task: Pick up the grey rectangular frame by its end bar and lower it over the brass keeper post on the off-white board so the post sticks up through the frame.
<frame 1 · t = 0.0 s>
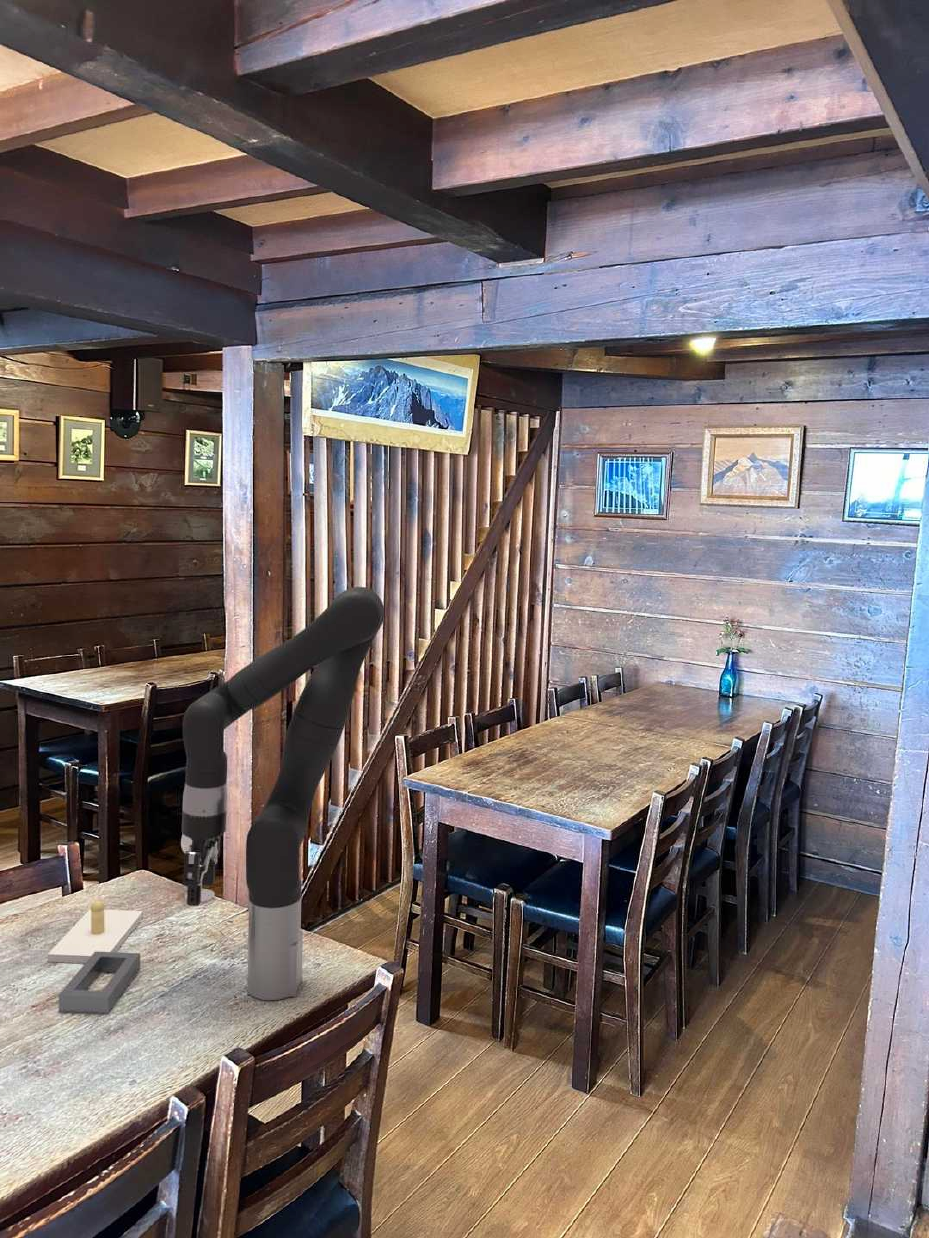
hand: (200, 894, 160), 17 cm above the table, tool pointing down, fingers open, 8 cm apart
wineglass: (200, 896, 198), on the table
grey rectangular frame: (101, 989, 159), on the table
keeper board: (97, 938, 177), on the table
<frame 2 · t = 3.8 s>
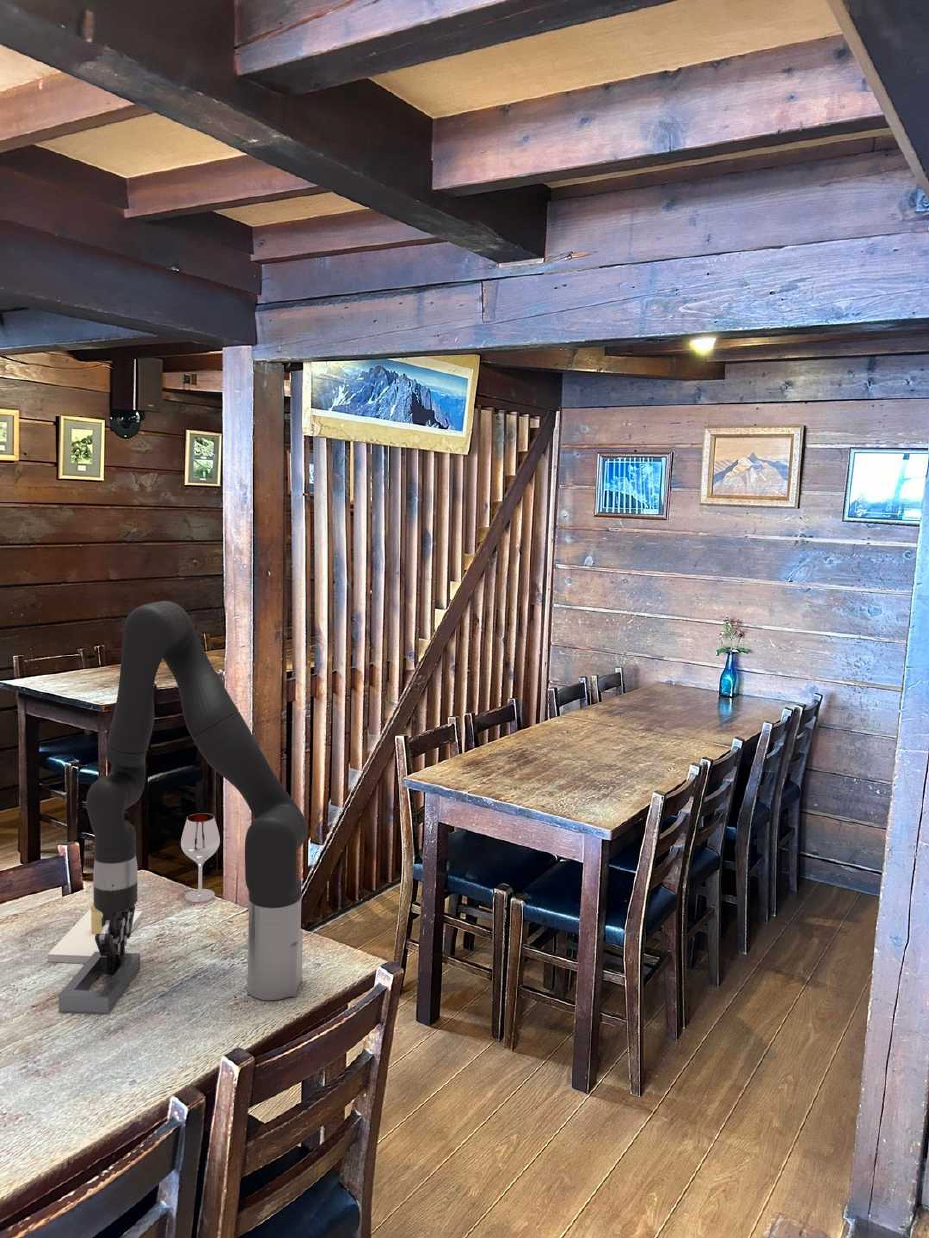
hand: (115, 968, 165), 0 cm above the table, tool pointing down, fingers closed on grey rectangular frame
grey rectangular frame: (101, 989, 159), on the table, touching gripper
everything else where it was.
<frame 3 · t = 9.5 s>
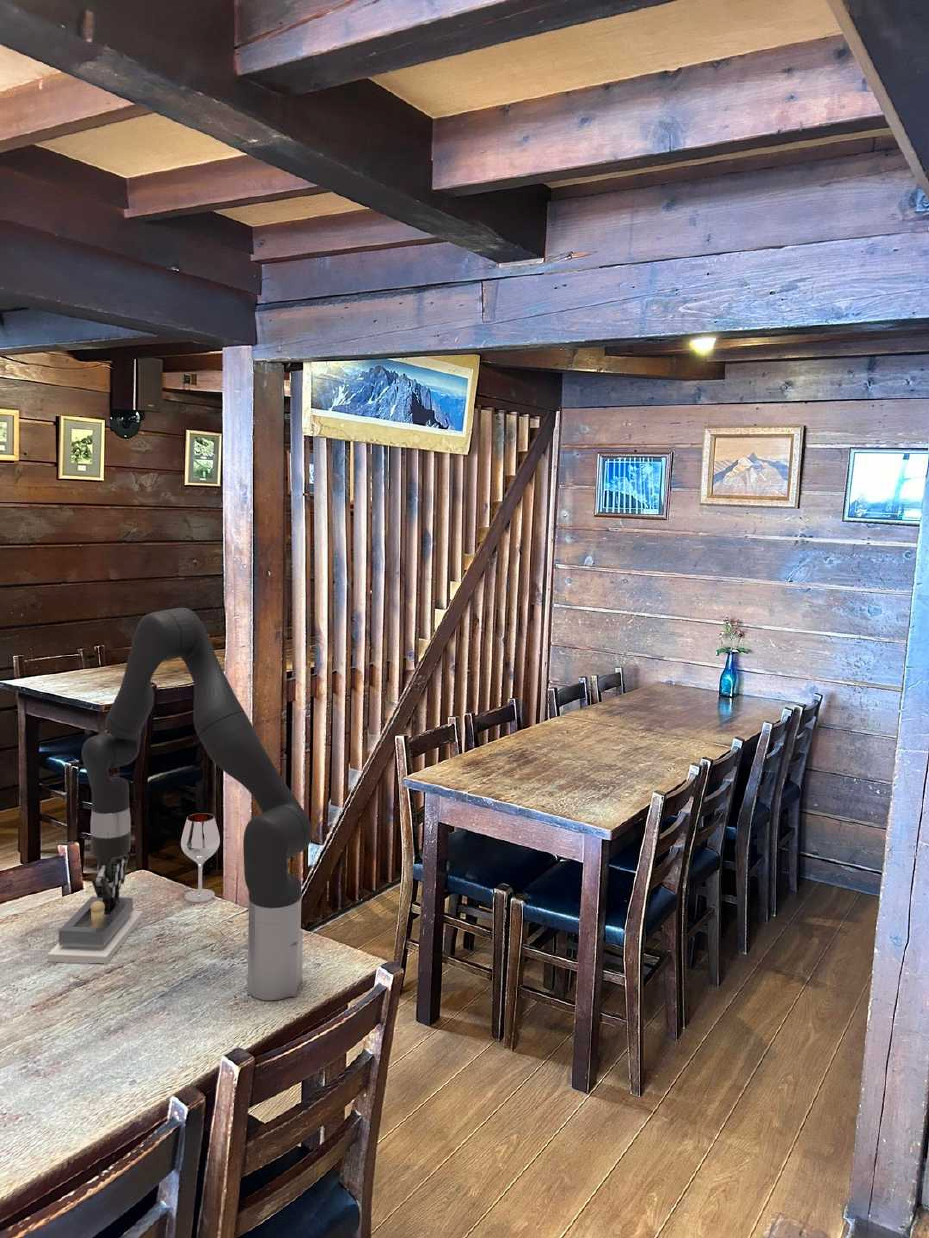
hand: (111, 910, 183), 3 cm above the table, tool pointing down, fingers closed on grey rectangular frame
grey rectangular frame: (97, 927, 176), point 2 cm above the table, touching gripper
everything else where it was.
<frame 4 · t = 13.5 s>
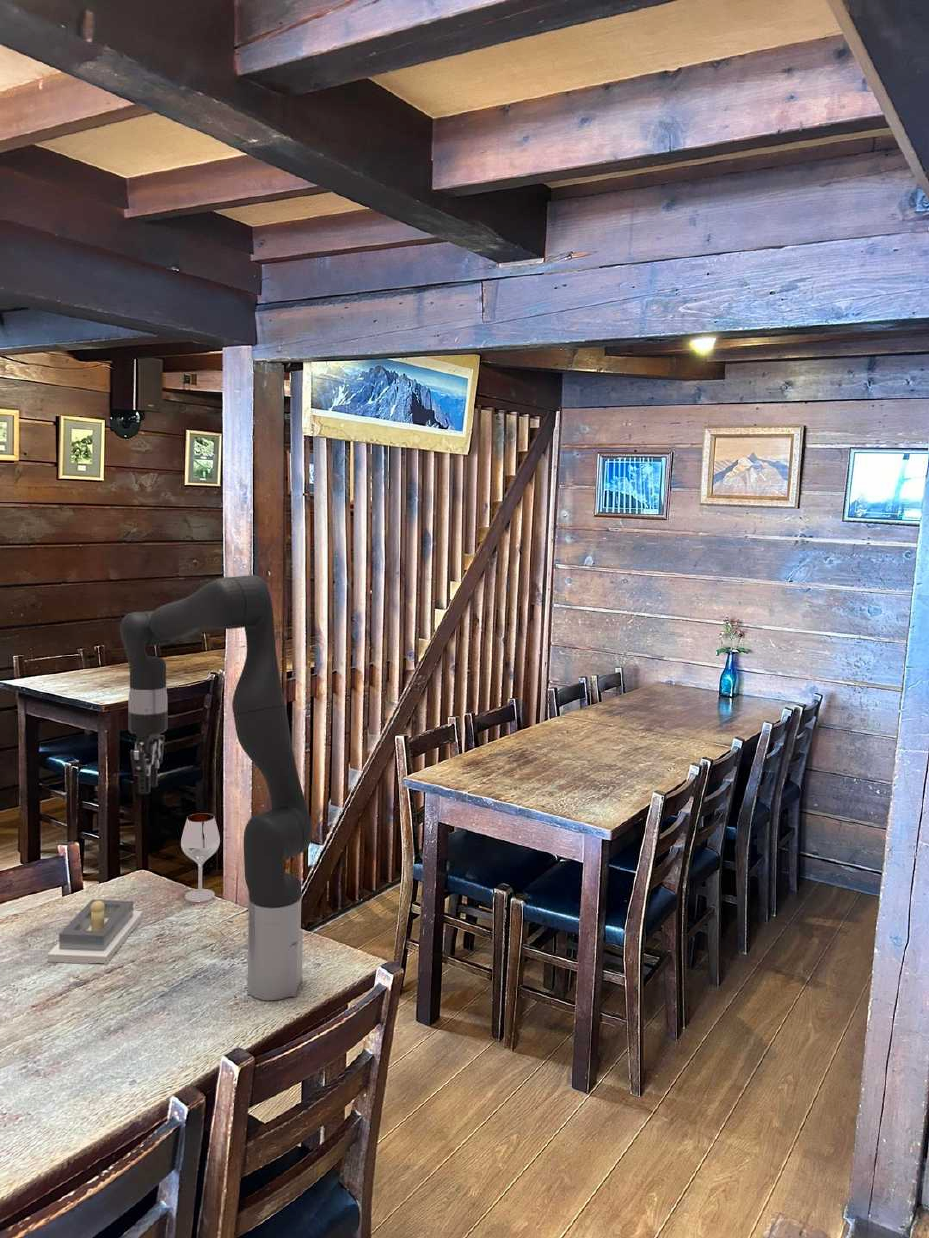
hand: (148, 789, 184), 27 cm above the table, tool pointing down, fingers open, 4 cm apart
grey rectangular frame: (97, 931, 177), point 1 cm above the table, touching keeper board
everything else where it was.
at the end: grey rectangular frame inside the target area on the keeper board (0.1 cm from its centre), point 1.5 cm above the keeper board's base; grey rectangular frame tilted 0°; the gripper is holding nothing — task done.
